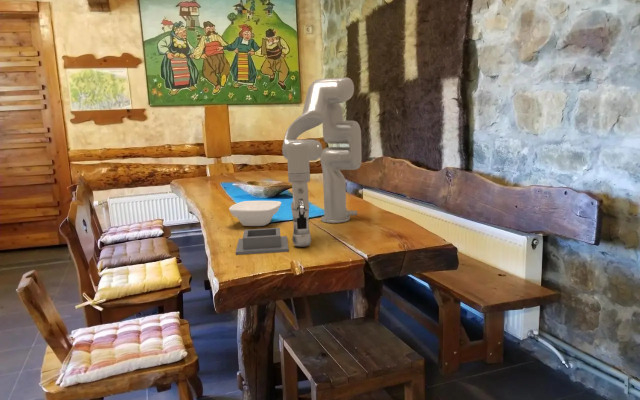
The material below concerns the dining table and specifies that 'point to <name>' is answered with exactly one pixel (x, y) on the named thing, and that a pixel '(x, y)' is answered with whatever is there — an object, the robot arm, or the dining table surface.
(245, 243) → the gray square tray
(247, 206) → the bowl
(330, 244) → the dining table surface
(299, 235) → the plastic bottle
